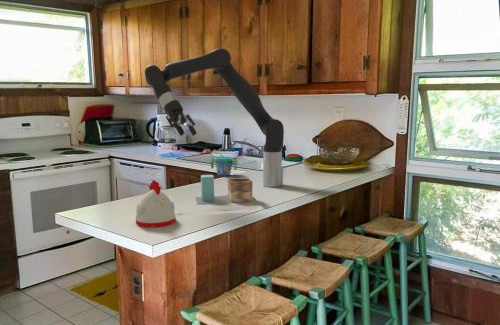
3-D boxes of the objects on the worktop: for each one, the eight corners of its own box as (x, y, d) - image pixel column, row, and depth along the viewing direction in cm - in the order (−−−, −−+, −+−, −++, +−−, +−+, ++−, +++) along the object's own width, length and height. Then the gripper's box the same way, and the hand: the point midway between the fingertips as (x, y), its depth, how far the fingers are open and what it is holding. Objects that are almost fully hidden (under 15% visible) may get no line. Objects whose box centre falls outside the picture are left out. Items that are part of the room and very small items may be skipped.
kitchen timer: (145, 230, 146) (143, 186, 144) (130, 221, 157) (128, 180, 155) (182, 223, 154) (181, 181, 152) (165, 214, 165) (164, 175, 163)
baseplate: (249, 196, 194) (249, 194, 194) (255, 204, 180) (255, 201, 180) (195, 199, 189) (195, 197, 189) (197, 207, 176) (197, 204, 176)
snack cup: (240, 174, 249) (240, 157, 248) (230, 177, 240) (230, 159, 239) (217, 172, 257) (217, 155, 255) (207, 175, 248) (207, 157, 246)
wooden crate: (248, 196, 190) (248, 177, 189) (252, 201, 181) (252, 181, 180) (228, 197, 188) (227, 178, 187) (231, 202, 180) (230, 182, 179)
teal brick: (212, 197, 188) (212, 174, 187) (214, 200, 183) (213, 176, 182) (201, 198, 187) (200, 175, 186) (202, 200, 182) (201, 177, 181)
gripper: (165, 98, 182) (184, 129, 178) (186, 100, 195) (204, 129, 191) (154, 109, 185) (172, 139, 182) (175, 110, 198) (193, 139, 194)
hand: (189, 134), depth 186 cm, fingers open, 8 cm apart
